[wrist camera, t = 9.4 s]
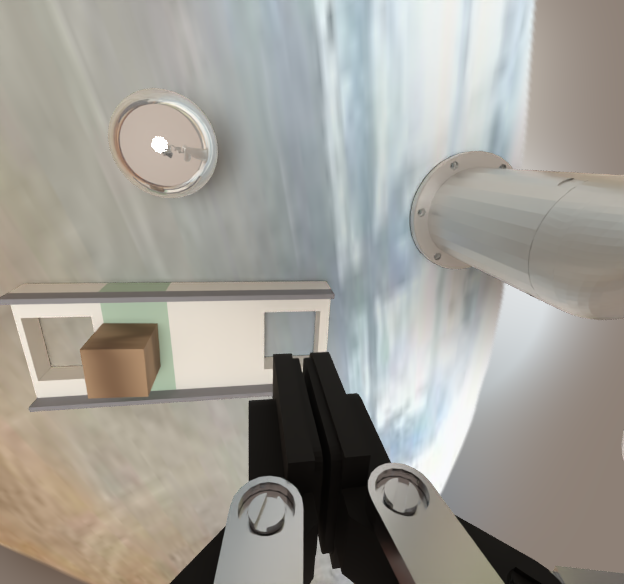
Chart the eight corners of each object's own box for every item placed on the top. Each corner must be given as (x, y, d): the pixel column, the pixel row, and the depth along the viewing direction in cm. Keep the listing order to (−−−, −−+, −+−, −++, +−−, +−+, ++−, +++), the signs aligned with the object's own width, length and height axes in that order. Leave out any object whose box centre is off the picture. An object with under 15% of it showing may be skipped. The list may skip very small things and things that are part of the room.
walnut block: (157, 323, 35) (143, 349, 30) (160, 366, 36) (148, 396, 32) (102, 323, 34) (80, 349, 29) (108, 367, 35) (88, 398, 31)
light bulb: (184, 203, 33) (153, 226, 22) (127, 139, 31) (60, 130, 20) (240, 156, 33) (237, 158, 22) (187, 87, 30) (152, 48, 19)
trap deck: (326, 281, 39) (334, 294, 35) (320, 372, 43) (326, 392, 39) (23, 283, 34) (-4, 299, 30) (51, 386, 38) (29, 411, 34)
